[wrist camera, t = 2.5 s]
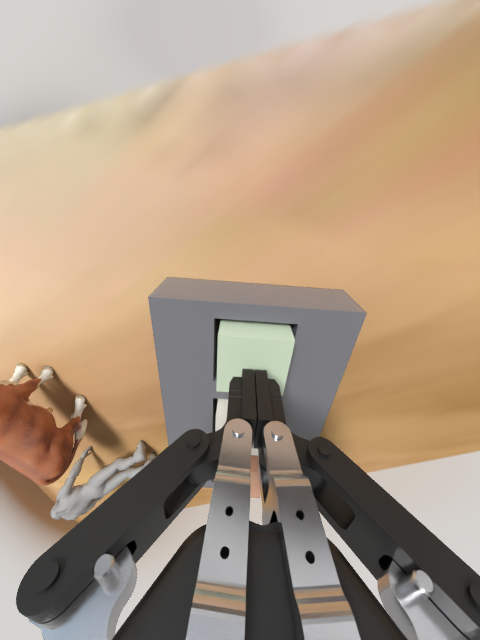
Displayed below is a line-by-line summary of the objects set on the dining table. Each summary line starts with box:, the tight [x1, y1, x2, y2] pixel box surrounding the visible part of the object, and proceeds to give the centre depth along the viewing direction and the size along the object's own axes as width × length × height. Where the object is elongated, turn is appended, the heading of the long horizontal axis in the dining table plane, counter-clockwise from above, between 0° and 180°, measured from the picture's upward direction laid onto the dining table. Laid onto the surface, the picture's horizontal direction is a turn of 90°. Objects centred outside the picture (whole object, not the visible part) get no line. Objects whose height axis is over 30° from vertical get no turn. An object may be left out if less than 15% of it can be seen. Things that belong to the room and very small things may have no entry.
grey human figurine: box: [51, 440, 157, 520], centre depth 28 cm, size 6×5×12 cm
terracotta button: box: [214, 455, 261, 498], centre depth 24 cm, size 5×5×3 cm
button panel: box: [148, 277, 367, 488], centre depth 22 cm, size 14×23×4 cm, turn 176°
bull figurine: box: [0, 363, 87, 485], centre depth 20 cm, size 4×13×8 cm, turn 18°
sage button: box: [216, 319, 295, 396], centre depth 16 cm, size 5×5×3 cm
